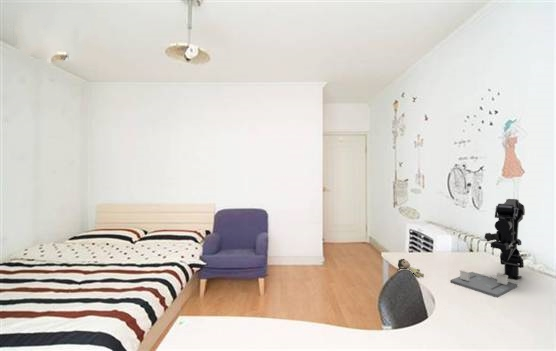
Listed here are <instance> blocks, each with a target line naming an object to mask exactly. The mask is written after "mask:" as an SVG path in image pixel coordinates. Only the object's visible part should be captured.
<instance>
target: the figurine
mask: <svg viewBox="0 0 556 351" xmlns="http://www.w3.org/2000/svg"><path fill="white" fill-rule="evenodd" d="M397 267H398V269H399V270H400V269H409V270H411V271H412V272H413V273H414V274H415V275H414V274H413V275H414V276H416V277H417V278H419V279H420V278H424V276H425V274H424V273H422V272H421V270H420V269H419V268H414V267H413V266H411V264H410V262H409V261H408V260H406V259H405V258H400V259H398V262H397Z"/></svg>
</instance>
